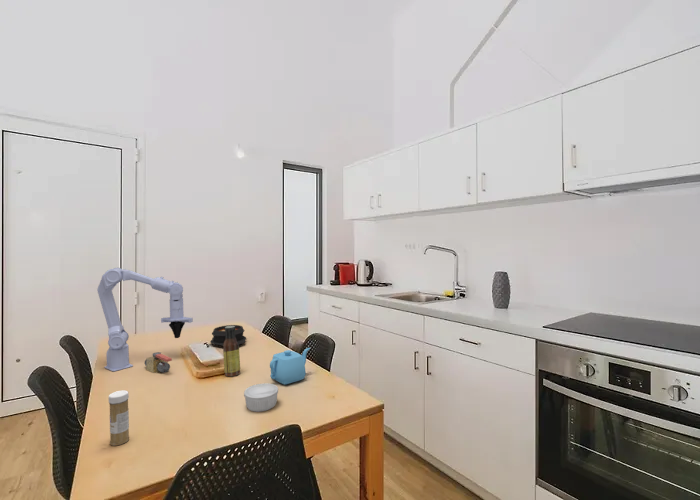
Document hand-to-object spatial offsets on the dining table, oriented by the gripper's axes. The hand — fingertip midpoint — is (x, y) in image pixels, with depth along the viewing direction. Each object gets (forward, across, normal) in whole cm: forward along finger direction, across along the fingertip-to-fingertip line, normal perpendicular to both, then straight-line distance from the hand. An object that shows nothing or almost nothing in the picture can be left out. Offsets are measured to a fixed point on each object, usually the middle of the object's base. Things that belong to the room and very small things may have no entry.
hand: (177, 337), depth 164 cm
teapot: (+11, +60, -20) cm, 64 cm away
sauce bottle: (+11, +34, -17) cm, 40 cm away
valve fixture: (+10, -2, -13) cm, 17 cm away
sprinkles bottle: (+11, +25, -66) cm, 72 cm away
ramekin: (+11, +56, -43) cm, 71 cm away
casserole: (+11, +12, +28) cm, 32 cm away
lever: (+4, +3, -16) cm, 17 cm away
